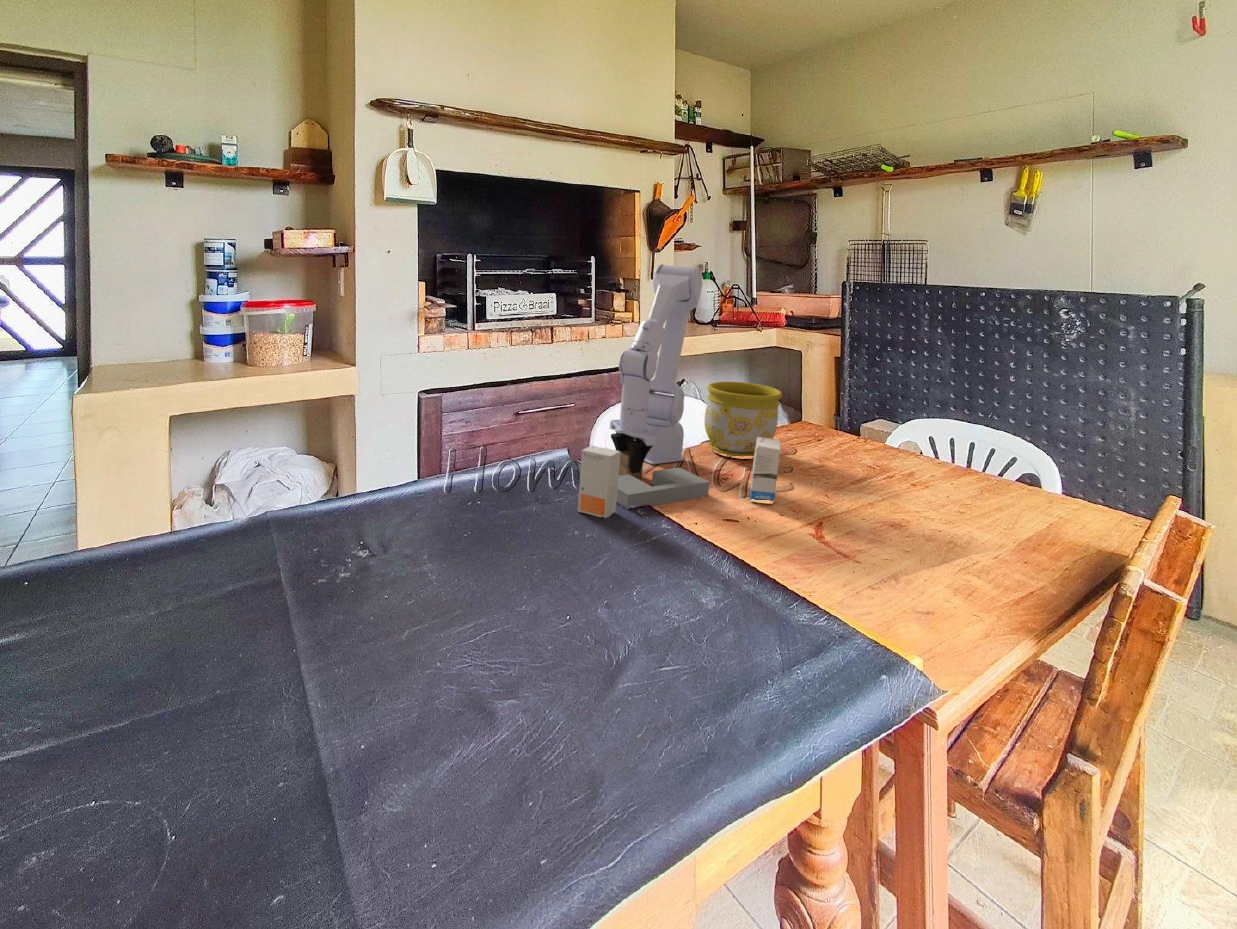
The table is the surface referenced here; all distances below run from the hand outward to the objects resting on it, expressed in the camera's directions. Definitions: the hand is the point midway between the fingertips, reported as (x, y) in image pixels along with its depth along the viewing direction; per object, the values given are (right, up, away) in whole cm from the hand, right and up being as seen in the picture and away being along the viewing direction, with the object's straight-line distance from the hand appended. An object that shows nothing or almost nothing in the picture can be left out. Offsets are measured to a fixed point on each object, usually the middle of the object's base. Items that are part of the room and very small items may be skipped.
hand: (629, 469), depth 148 cm
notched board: (+5, -5, -10) cm, 12 cm away
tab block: (0, -1, 0) cm, 1 cm away
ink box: (+27, -6, -7) cm, 28 cm away
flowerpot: (+27, +4, +24) cm, 37 cm away
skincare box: (-6, -8, -22) cm, 24 cm away
